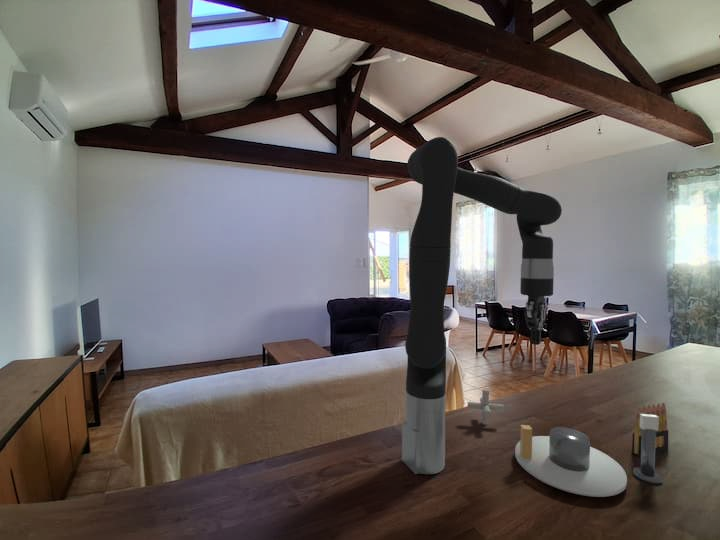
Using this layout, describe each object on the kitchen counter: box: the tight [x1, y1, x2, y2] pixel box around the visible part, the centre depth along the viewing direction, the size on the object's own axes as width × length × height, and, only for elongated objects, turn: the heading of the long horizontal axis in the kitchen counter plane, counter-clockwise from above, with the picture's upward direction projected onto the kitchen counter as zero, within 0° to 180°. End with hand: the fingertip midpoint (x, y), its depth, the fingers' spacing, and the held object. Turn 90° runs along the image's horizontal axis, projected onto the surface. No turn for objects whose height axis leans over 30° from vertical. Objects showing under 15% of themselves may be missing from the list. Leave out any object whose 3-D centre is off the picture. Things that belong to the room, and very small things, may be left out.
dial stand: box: [632, 414, 663, 485], centre depth 78 cm, size 5×5×14 cm
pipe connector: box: [467, 388, 505, 426], centre depth 103 cm, size 10×10×10 cm
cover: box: [549, 426, 591, 472], centre depth 80 cm, size 8×8×6 cm
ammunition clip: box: [631, 402, 669, 457], centre depth 88 cm, size 11×2×12 cm, turn 108°
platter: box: [514, 424, 628, 498], centre depth 80 cm, size 22×22×8 cm
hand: (535, 343), depth 89 cm, fingers closed
